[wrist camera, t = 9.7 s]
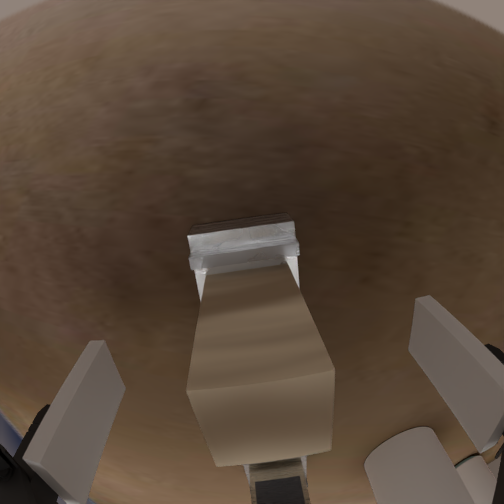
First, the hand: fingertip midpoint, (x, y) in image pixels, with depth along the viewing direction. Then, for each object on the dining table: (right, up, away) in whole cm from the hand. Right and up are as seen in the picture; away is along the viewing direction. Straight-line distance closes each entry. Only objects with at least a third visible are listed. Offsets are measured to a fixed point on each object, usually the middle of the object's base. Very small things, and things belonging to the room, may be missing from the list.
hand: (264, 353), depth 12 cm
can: (+31, -28, +18) cm, 45 cm away
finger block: (-1, +1, +4) cm, 4 cm away
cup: (+15, -17, +13) cm, 26 cm away
